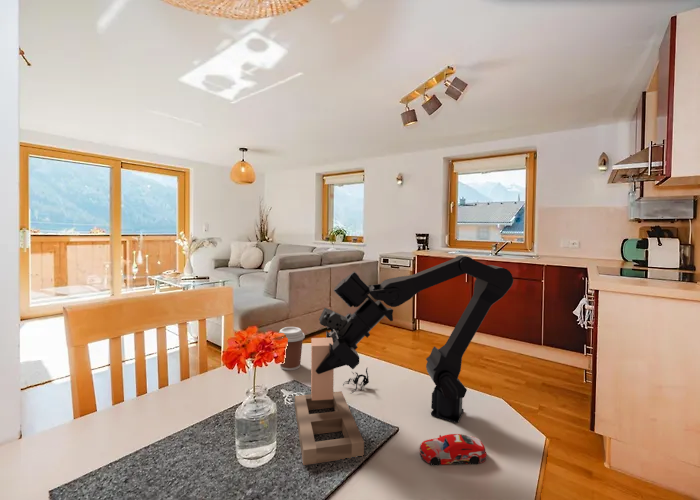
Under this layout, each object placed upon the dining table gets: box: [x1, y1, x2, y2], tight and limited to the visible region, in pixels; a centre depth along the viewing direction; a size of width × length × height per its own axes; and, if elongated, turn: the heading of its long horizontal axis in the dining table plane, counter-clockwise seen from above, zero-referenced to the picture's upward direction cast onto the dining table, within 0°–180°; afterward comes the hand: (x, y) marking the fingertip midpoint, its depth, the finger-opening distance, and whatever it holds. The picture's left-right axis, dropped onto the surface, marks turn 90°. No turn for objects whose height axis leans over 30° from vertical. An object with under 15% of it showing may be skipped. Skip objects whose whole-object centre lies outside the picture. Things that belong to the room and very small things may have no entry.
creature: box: [342, 367, 370, 394], centre depth 96 cm, size 8×5×8 cm
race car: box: [418, 433, 488, 466], centre depth 67 cm, size 13×5×4 cm, turn 93°
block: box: [310, 337, 335, 400], centre depth 80 cm, size 5×5×13 cm
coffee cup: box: [278, 326, 306, 371], centre depth 109 cm, size 9×9×12 cm
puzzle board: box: [294, 391, 365, 466], centre depth 76 cm, size 21×12×3 cm, turn 14°
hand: (316, 367), depth 80 cm, fingers closed on block, 5 cm apart
